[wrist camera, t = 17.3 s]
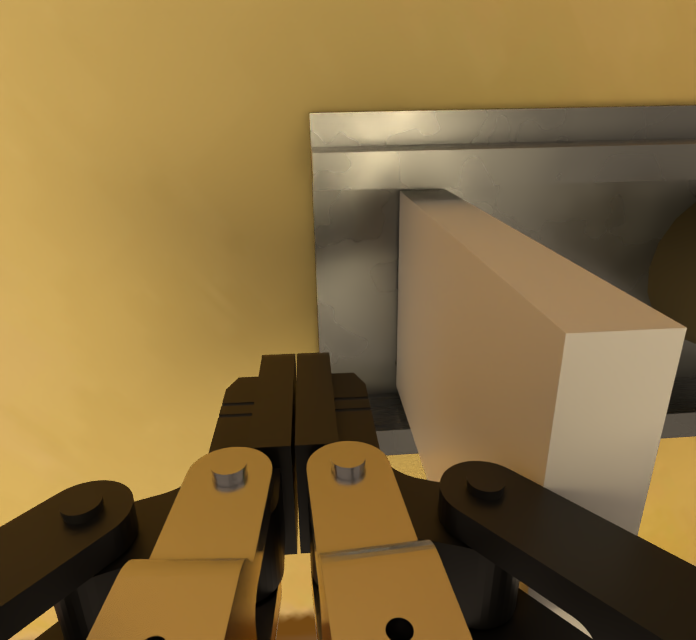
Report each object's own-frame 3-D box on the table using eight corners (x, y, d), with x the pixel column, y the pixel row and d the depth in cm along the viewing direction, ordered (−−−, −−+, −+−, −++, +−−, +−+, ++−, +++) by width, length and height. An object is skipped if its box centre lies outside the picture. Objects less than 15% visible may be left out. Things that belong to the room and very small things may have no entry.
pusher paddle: (400, 190, 17) (565, 333, 6) (445, 189, 17) (686, 327, 6) (396, 386, 20) (508, 724, 9) (435, 383, 20) (593, 716, 9)
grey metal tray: (309, 112, 17) (310, 113, 14) (881, 101, 19) (1004, 100, 15) (322, 427, 22) (325, 483, 18) (783, 400, 23) (861, 448, 20)
